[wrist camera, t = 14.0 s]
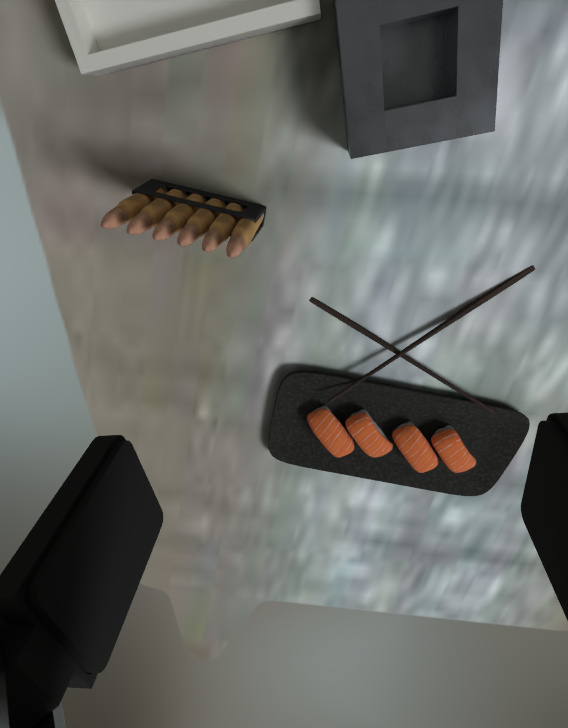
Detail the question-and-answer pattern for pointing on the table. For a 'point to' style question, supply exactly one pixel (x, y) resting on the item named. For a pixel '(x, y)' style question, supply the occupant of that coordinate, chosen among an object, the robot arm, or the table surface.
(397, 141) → the pin block
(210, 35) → the tray
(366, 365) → the table surface
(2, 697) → the robot arm
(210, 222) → the ammunition clip
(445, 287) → the table surface
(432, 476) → the sushi plate
